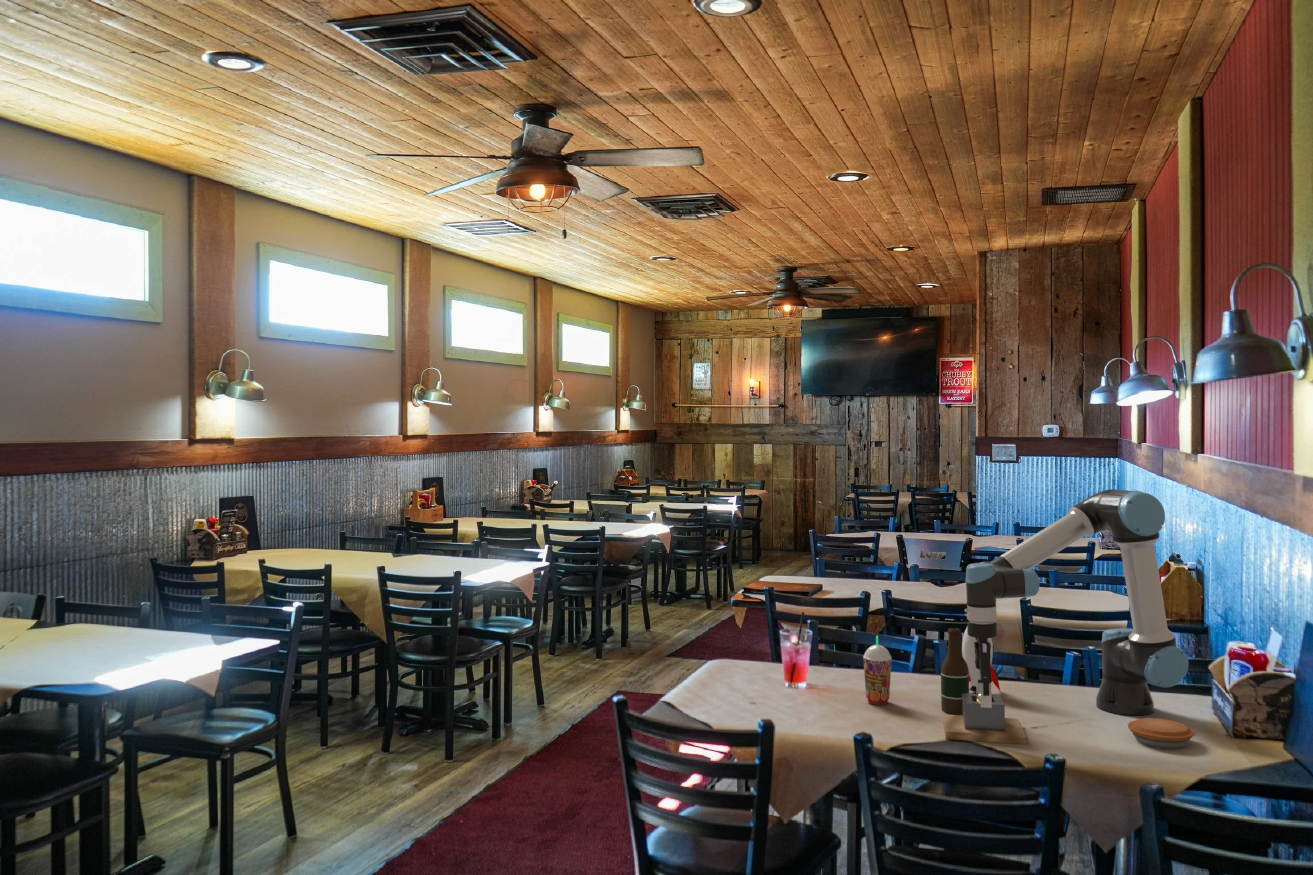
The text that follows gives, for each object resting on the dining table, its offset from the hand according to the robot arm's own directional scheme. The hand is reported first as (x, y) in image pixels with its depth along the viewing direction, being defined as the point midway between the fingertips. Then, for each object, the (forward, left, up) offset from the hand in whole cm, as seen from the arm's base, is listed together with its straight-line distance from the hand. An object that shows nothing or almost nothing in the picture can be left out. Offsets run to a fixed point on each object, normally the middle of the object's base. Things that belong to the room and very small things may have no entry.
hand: (983, 700), depth 259 cm
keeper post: (0, 0, -7) cm, 7 cm away
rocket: (-2, -41, -9) cm, 42 cm away
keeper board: (0, 0, -9) cm, 9 cm away
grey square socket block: (0, 0, -7) cm, 7 cm away
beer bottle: (+6, -19, -9) cm, 22 cm away
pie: (-44, -1, -9) cm, 45 cm away
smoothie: (+28, -24, -9) cm, 38 cm away
